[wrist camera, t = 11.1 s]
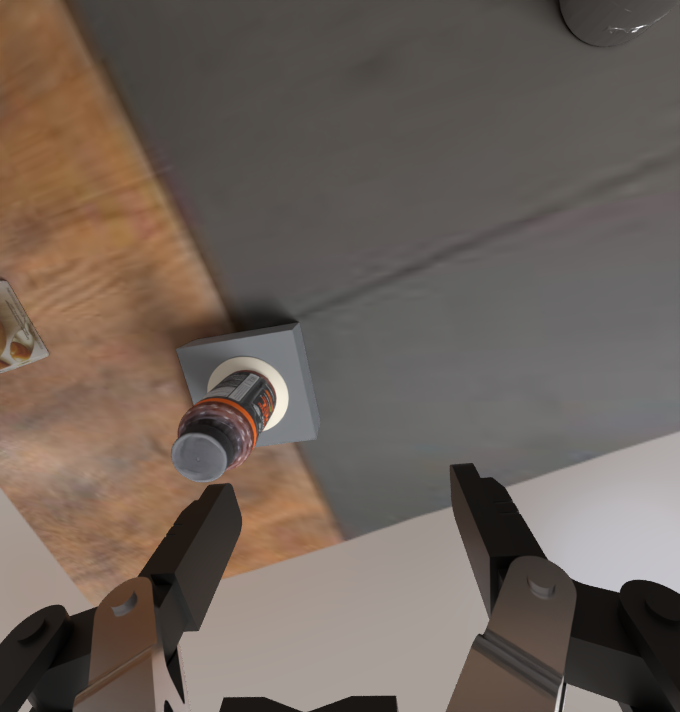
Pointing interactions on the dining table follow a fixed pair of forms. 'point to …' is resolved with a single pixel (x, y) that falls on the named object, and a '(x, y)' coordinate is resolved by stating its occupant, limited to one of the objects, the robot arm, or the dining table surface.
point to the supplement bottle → (223, 426)
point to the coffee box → (16, 333)
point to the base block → (268, 357)
